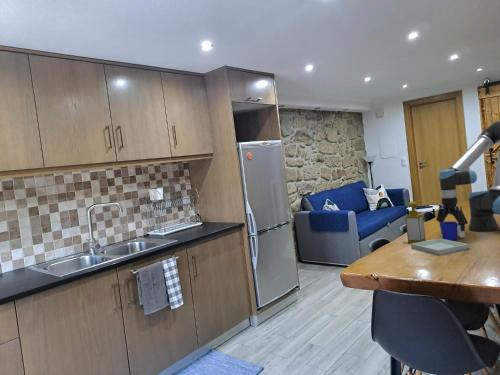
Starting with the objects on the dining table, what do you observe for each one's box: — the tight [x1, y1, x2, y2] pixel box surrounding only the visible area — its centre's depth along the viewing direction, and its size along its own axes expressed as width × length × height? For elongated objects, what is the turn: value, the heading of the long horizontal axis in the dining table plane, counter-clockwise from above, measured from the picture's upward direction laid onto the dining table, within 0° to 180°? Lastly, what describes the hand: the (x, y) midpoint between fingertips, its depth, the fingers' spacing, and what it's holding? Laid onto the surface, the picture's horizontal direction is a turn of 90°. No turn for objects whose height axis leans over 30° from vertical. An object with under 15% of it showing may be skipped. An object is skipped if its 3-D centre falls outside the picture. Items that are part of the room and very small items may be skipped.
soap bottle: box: [404, 201, 427, 245], centre depth 209 cm, size 7×13×24 cm, turn 137°
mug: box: [439, 221, 460, 242], centre depth 202 cm, size 8×12×10 cm
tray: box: [410, 237, 470, 256], centre depth 188 cm, size 18×20×3 cm
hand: (452, 235), depth 202 cm, fingers open, 13 cm apart
